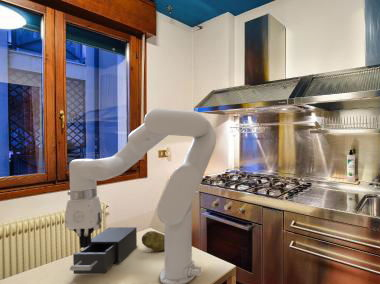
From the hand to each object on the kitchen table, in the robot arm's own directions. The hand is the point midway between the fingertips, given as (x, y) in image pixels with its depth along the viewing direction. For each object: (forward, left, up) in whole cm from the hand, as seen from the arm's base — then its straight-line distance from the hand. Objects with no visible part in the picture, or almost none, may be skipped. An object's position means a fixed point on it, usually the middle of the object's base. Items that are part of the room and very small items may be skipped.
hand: (85, 245), depth 80 cm
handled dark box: (+2, -6, -11) cm, 13 cm away
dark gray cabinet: (+5, -17, -12) cm, 21 cm away
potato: (-10, -26, -13) cm, 30 cm away
